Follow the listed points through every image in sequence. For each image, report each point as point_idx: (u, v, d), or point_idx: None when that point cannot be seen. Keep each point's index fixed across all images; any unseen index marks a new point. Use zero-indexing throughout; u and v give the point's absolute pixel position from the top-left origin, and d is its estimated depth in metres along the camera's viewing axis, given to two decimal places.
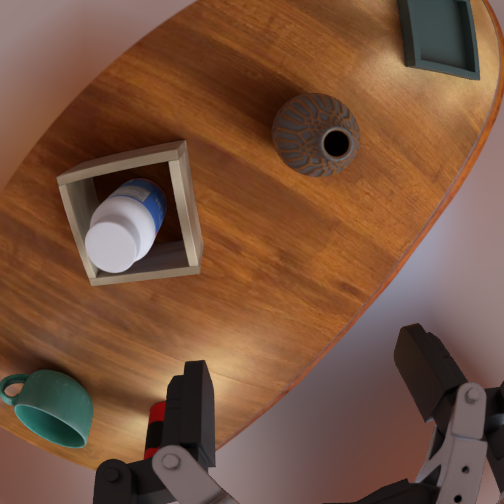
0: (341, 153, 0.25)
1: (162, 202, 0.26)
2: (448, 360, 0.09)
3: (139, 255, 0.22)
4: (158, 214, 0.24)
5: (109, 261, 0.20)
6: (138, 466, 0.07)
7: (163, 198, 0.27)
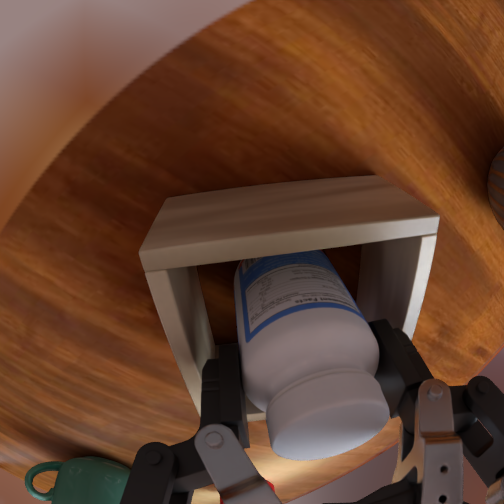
0: None
1: None
2: (414, 356, 0.10)
3: None
4: None
5: (320, 450, 0.09)
6: (178, 449, 0.08)
7: None
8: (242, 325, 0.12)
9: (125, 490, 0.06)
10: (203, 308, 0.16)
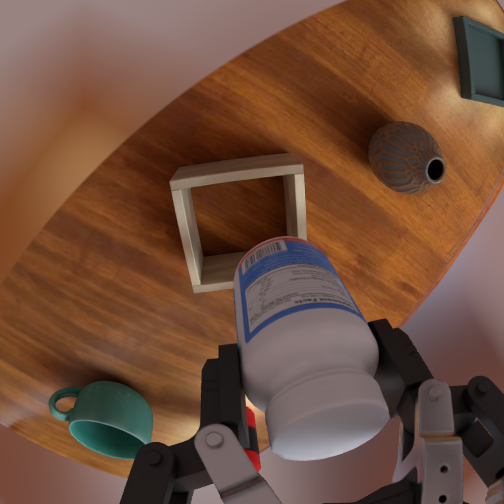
0: None
1: None
2: (414, 356, 0.10)
3: None
4: None
5: (319, 450, 0.09)
6: (178, 449, 0.08)
7: None
8: (242, 325, 0.12)
9: (125, 490, 0.06)
10: (196, 228, 0.30)
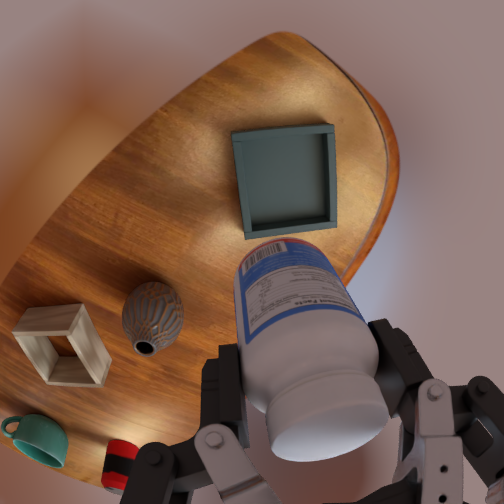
0: None
1: None
2: (414, 356, 0.10)
3: None
4: None
5: (320, 451, 0.09)
6: (178, 449, 0.08)
7: None
8: (242, 327, 0.12)
9: (125, 490, 0.06)
10: (47, 343, 0.37)
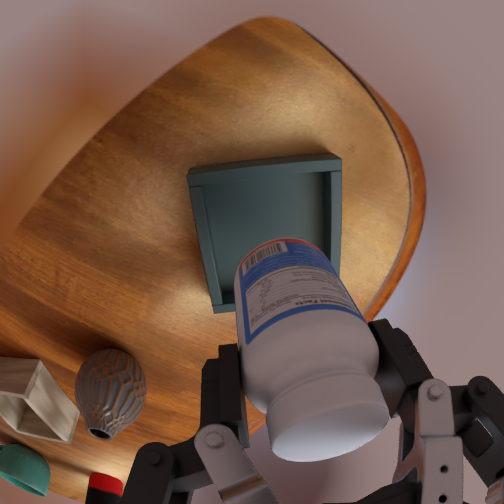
0: None
1: None
2: (414, 356, 0.10)
3: None
4: None
5: (320, 451, 0.09)
6: (178, 449, 0.08)
7: None
8: (242, 327, 0.12)
9: (125, 490, 0.06)
10: None
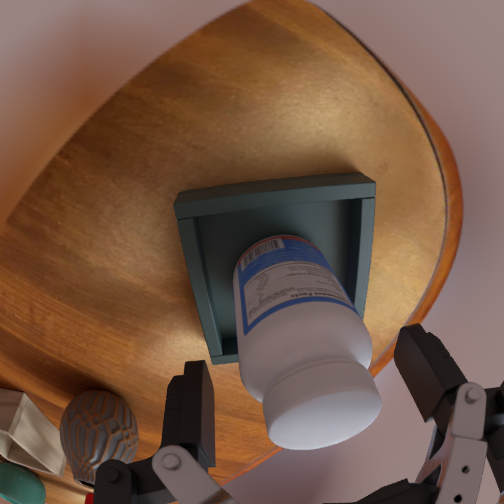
0: None
1: None
2: (448, 360, 0.09)
3: None
4: None
5: (315, 439, 0.09)
6: (138, 466, 0.07)
7: None
8: (240, 319, 0.12)
9: None
10: None
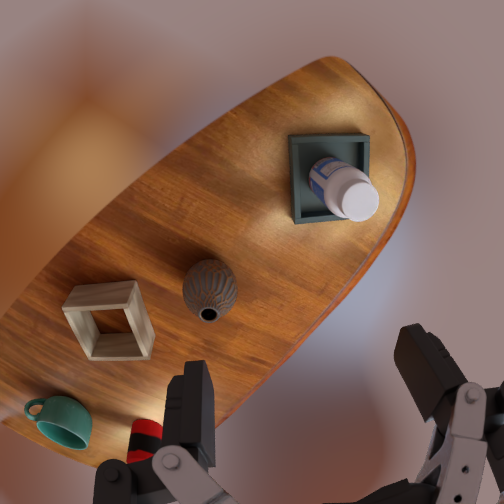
0: None
1: None
2: (448, 360, 0.09)
3: None
4: None
5: (357, 212, 0.28)
6: (138, 466, 0.07)
7: None
8: (322, 178, 0.31)
9: None
10: (91, 320, 0.43)
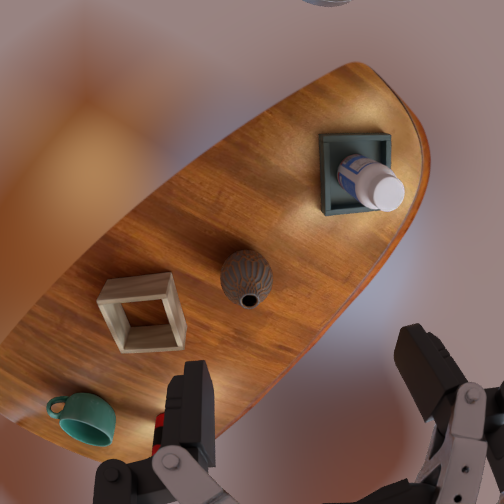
0: None
1: None
2: (448, 360, 0.09)
3: None
4: None
5: (386, 203, 0.30)
6: (138, 466, 0.07)
7: None
8: (352, 173, 0.33)
9: None
10: (122, 313, 0.46)
